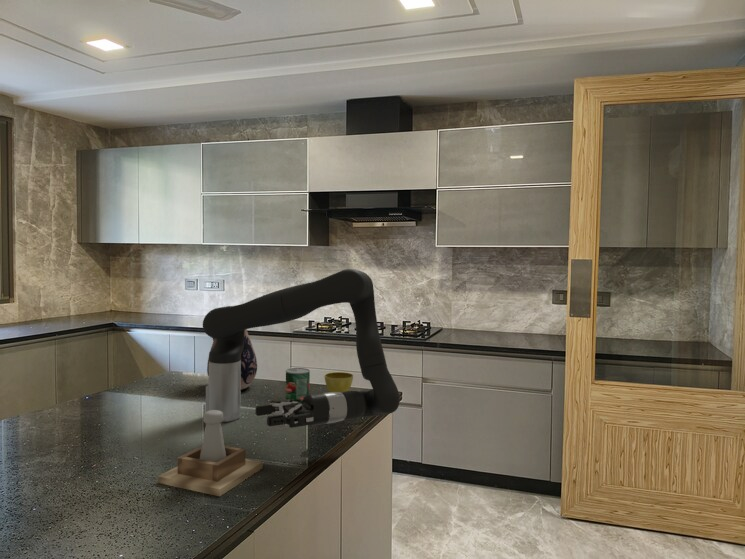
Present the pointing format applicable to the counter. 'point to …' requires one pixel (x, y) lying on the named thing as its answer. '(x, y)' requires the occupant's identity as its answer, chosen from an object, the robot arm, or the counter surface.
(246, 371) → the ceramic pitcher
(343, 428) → the counter surface
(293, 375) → the canned tomato
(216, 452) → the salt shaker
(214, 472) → the socket holder
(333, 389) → the flower pot
